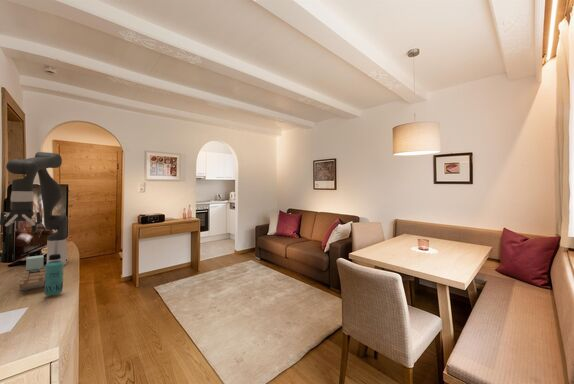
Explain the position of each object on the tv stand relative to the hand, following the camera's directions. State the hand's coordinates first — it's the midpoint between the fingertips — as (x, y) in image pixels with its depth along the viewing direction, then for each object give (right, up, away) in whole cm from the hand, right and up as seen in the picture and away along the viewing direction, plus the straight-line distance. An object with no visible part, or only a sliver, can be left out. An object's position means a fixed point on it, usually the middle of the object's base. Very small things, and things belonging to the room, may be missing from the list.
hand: (21, 233), depth 119 cm
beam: (-1, -29, +7) cm, 30 cm away
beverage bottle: (+18, -30, -2) cm, 35 cm away
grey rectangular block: (-6, -23, +12) cm, 26 cm away
